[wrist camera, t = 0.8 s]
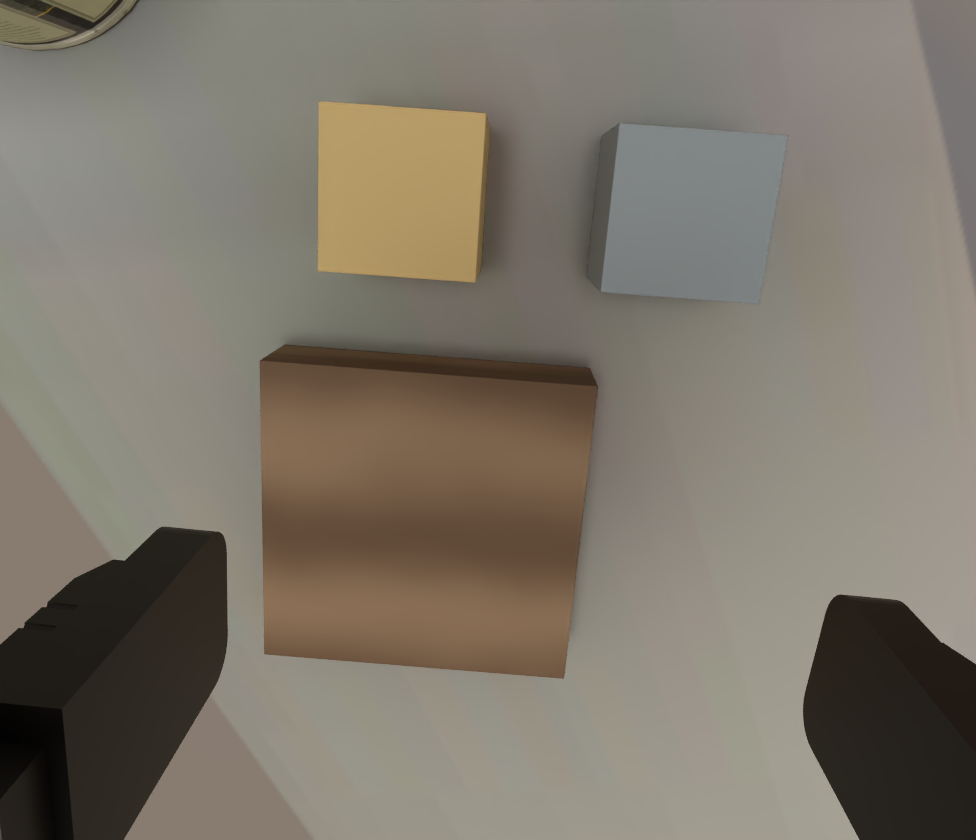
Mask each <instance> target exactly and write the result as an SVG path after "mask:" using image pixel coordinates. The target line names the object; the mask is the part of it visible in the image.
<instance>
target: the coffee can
mask: <svg viewBox="0 0 976 840" xmlns="http://www.w3.org/2000/svg"><path fill="white" fill-rule="evenodd" d="M136 1H137V0H0V44H3V45H7V46H12V47H17V48H23V49H28V50H34V51H36V50H45V49H61V48H65V47H70V46H74V45H77V44H81V43H83V42H86V41H88V40H90V39H92V38H94V37H96V36H98V35H100V34H102V33H103V32H105V31H106V30H108V29H109V28H111V27H112V26H113V25H115V24H116V23H117V22H118V21H119V20H120V19H121V18H122V17H123V16H124V15H125V14H127V13H128V12H129V11H130V10H131V8H132V7H133V5H134V4H135V2H136Z"/></svg>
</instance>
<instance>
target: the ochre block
mask: <svg viewBox="0 0 976 840" xmlns="http://www.w3.org/2000/svg"><path fill="white" fill-rule="evenodd" d="M489 142H490V125H489V122H488V118H487V115H486V113H476V112H462V111H448V110H434V109H420V108H406V107H392V106H378V105H364V104H350V103H336V102H322V101H319V157H318V271H325V272H338V273H352V274H365V275H379V276H392V277H406V278H420V279H433V280H447V281H460V282H474V283H475V282H476V279H477V277H478V275H479V272H480V270H481V263H482V248H483V233H484V218H485V202H486V187H487V172H488V157H489Z"/></svg>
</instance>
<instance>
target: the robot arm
mask: <svg viewBox="0 0 976 840" xmlns="http://www.w3.org/2000/svg"><path fill="white" fill-rule="evenodd" d="M227 636H228V628H227V552H226V543H225V539H224V536H223V535H222V534H221V533H220V532H214V531H203V530H193V529H183V528H173V527H161V528H159V529H158V530H156V531H155V532H154V533H153V534H152V535H151V536H150V537H149V538H148V539H147V540H146V541H145V542H144V543H143V544H142V545H141V546H140V547H139V548H138V549H137V550H136V551H134V552H133V553H132V554H131V555H130V556H129V557H128V558H127V559H126V560H125V561H122V560H112V561H109V562H107V563H105V564H103V565H101V566H99V567H97V568H95V569H93V570H91V571H89V572H87V573H85V574H82V575H80V576H78V577H76V578H74V579H73V580H72V581H71V582H70V583H69V584H68V585H66V586H65V587H64V588H63V589H62V590H61V591H60V592H59V593H57V594H56V595H55V596H54V597H53V598H52V599H51V600H50V601H49V602H48V604H47V607H42V608H41V609H40V610H38V611H37V612H36V613H35V614H34V615H33V616H32V617H31V618H29V619H28V620H27V621H26V622H25V625H24V628H18V629H17V630H16V631H15V632H14V633H13V634H12V635H10V636H9V637H8V638H7V639H6V640H5V641H4V642H3V643H2V644H0V840H124V838H125V836H126V835H127V833H128V831H129V830H130V828H131V826H132V825H133V823H134V821H135V819H136V818H137V816H138V815H139V813H140V811H141V810H142V808H143V806H144V805H145V803H146V801H147V799H148V798H149V796H150V794H151V793H152V791H153V789H154V788H155V786H156V784H157V783H158V781H159V779H160V778H161V776H162V774H163V773H164V771H165V769H166V768H167V766H168V764H169V762H170V761H171V759H172V758H173V756H174V754H175V753H176V751H177V749H178V748H179V746H180V744H181V742H182V741H183V739H184V737H185V736H186V734H187V732H188V731H189V729H190V727H191V726H192V724H193V722H194V721H195V719H196V717H197V716H198V714H199V712H200V711H201V709H202V707H203V706H204V704H205V702H206V701H207V699H208V697H209V696H210V694H211V692H212V690H213V689H214V687H215V685H216V683H217V681H218V679H219V676H220V673H221V670H222V667H223V663H224V659H225V654H226V648H227ZM803 718H804V727H805V732H806V736H807V739H808V742H809V745H810V747H811V749H812V751H813V753H814V755H815V757H816V758H817V760H818V762H819V764H820V766H821V768H822V770H823V772H824V774H825V775H826V777H827V779H828V781H829V783H830V785H831V787H832V789H833V791H834V792H835V794H836V796H837V798H838V800H839V802H840V804H841V806H842V807H843V809H844V811H845V813H846V815H847V817H848V819H849V821H850V823H851V824H852V826H853V828H854V830H855V832H856V834H857V836H858V838H859V839H860V840H976V664H975V663H973V662H971V661H970V660H968V659H967V658H965V657H964V656H962V655H961V654H959V653H958V652H956V651H955V650H953V649H952V648H950V647H949V646H947V645H945V644H944V643H941V642H940V641H939V640H938V639H937V638H936V637H935V636H934V634H933V633H932V632H931V631H930V630H929V629H928V628H927V627H926V626H925V625H924V624H923V623H922V622H921V621H920V620H919V618H918V617H917V616H916V615H915V614H914V613H913V612H912V611H911V610H910V609H909V608H908V607H907V606H906V605H905V604H904V603H903V602H901V601H898V600H891V599H881V598H871V597H861V596H851V595H837V596H835V597H834V598H833V599H832V600H831V602H830V603H829V605H828V608H827V611H826V614H825V618H824V621H823V625H822V629H821V633H820V637H819V641H818V645H817V649H816V652H815V656H814V660H813V664H812V668H811V672H810V676H809V680H808V683H807V687H806V691H805V696H804V703H803Z"/></svg>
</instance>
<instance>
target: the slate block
mask: <svg viewBox="0 0 976 840" xmlns="http://www.w3.org/2000/svg"><path fill="white" fill-rule="evenodd" d="M787 141H788V135H775V134H762V133H748V132H734V131H721V130H707V129H693V128H680V127H666V126H652V125H639V124H625V123H619V124H618V125H616V126H615V127H614V128H612V129H611V130H609V131H608V132H607V133H605V134H604V135H602V136H601V145H600V154H599V163H598V173H597V182H596V191H595V201H594V210H593V219H592V229H591V238H590V247H589V257H588V266H587V275H586V277H587V278H588V279H589V280H590V281H591V282H592V283H593V284H594V286H595V287H596V288H597V289H598V290H599V291H600V292H605V293H618V294H631V295H644V296H657V297H670V298H684V299H697V300H710V301H723V302H736V303H750V304H759V302H760V296H761V291H762V285H763V279H764V273H765V268H766V262H767V256H768V250H769V244H770V239H771V233H772V227H773V221H774V216H775V210H776V204H777V198H778V193H779V187H780V181H781V175H782V170H783V164H784V158H785V152H786V146H787Z"/></svg>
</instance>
